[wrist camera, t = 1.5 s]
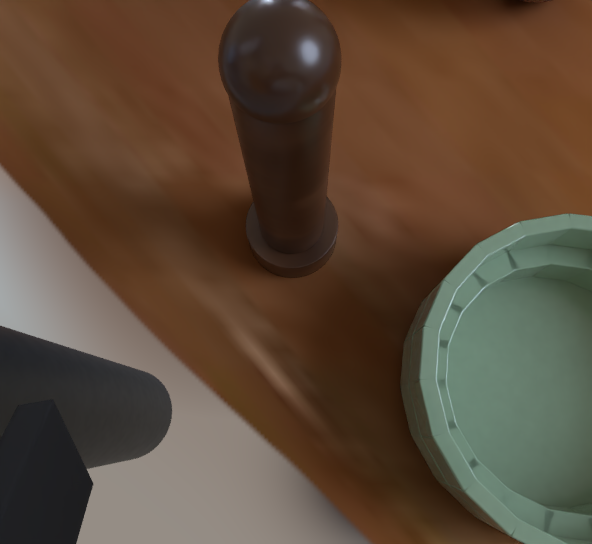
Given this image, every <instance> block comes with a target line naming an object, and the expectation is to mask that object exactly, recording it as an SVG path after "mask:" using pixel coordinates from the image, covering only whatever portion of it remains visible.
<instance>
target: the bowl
mask: <svg viewBox="0 0 592 544" xmlns="http://www.w3.org/2000/svg"><path fill="white" fill-rule="evenodd" d="M400 387H401V388H400V389H401V393H402V398H403V402H404V407H405V411H406V416H407V420H408V425H409V429H410V433H411V435H412V438H413V439H414V441H415V443H416V445H417V447H418V448H419V450H420V452H421V454H422V455H423V457H424V459H425V461H426V463H427V464H428V466H429V468H430V470H431V471H432V473H433V475H434V477H435V478H436V479H437V481H438V482H439V483H440V484H441V485H442V486H443V487H444V488H445V489H446V490H447V491H448V492H449V493H450V494H451V495H452V496H453V497H455V498H456V499H457V500H458V501H459V502H460V503H461V504H462V505H463V506H464V507H465V508H466V509H467V510H468V511H469V512H470V513H471V514H472V515H473V516H475V517H476V518H478V519H480V520H481V521H483V522H485V523H487V524H488V525H490V526H492V527H494V528H496V529H497V530H499V531H501V532H503V533H505V534H506V535H508V536H510V537H512V538H514V539H516V540H518V541H520V542H522V543H524V544H592V216H585V215H577V214H560V215H555V216H549V217H543V218H537V219H531V220H525V221H520V222H517V223H515V224H513V225H511V226H509V227H507V228H506V229H504V230H502V231H500V232H498V233H496V234H494V235H492V236H490V237H489V238H487V239H485V240H483V241H481V242H479V243H477V244H476V245H475V246H474V247H473V248H472V249H471V250H470V251H469V252H468V253H467V254H466V255H465V256H464V257H463V258H462V259H461V260H460V261H459V262H458V264H457V265H456V266H455V267H454V268H453V269H452V270H451V271H450V272H449V273H448V274H447V275H446V276H445V277H444V278H443V279H442V281H441V282H440V283H439V284H438V285H437V286H436V287H435V288H434V289H433V290H432V291H431V292H430V294H429V295H428V296H427V297H426V298H425V299H424V300H423V301H422V303H421V304H420V307H419V309H418V311H417V313H416V316H415V318H414V320H413V323H412V325H411V327H410V329H409V332H408V334H407V336H406V339H405V342H404V349H403V360H402V372H401V383H400Z"/></svg>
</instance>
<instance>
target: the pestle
mask: <svg viewBox="0 0 592 544" xmlns="http://www.w3.org/2000/svg"><path fill="white" fill-rule="evenodd" d="M218 64H219V72H220V76H221V80H222V82H223V85H224V88H225V90H226V92H227V93H228V96H229V100H230V104H231V108H232V113H233V117H234V121H235V125H236V129H237V134H238V138H239V142H240V146H241V150H242V155H243V159H244V163H245V167H246V172H247V176H248V180H249V184H250V188H251V193H252V197H253V201H254V202H253V203H252V205H251V207H250V209H249V211H248V214H247V218H246V233H247V237H248V241H249V244H250V247H251V250H252V252H253V255H254V256H255V258H256V259H257V261H258V262H259V263H260V264H261V265H262V266H263V267H264V268H265V269H266V270H268V271H270V272H271V273H274V274H276V275H279V276H282V277H289V278H295V277H302V276H306V275H309V274H311V273H313V272H315V271H317V270H318V269H320V268H321V267H322V266H323V265H324V264H325V263H326V262H327V261H328V260H329V258H330V257H331V255H332V253H333V251H334V248H335V244H336V238H337V231H338V218H337V214H336V211H335V208H334V206H333V204H332V203H331V201H330V200H329V199H328V197H327V185H328V173H329V162H330V151H331V140H332V129H333V117H334V106H335V95H336V86H337V83H338V80H339V77H340V71H341V48H340V43H339V39H338V36H337V34H336V31H335V29H334V27H333V25H332V23H331V22H330V21H329V19H328V18H327V16H326V15H325V14H324V13H323V12H322V11H321V10H320V9H319V8H318V7H317V6H316V5H314V4H313V3H312V2H310V1H308V0H250V1H249V2H247V3H245V4H244V5H243V6H242V7H240V8H239V9H238V10H237V11H236V13H235V14H234V15H233V16H232V17H231V19H230V20H229V22H228V24H227V25H226V27H225V29H224V32H223V34H222V37H221V41H220V45H219V54H218Z"/></svg>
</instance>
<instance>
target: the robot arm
mask: <svg viewBox="0 0 592 544" xmlns="http://www.w3.org/2000/svg"><path fill="white" fill-rule="evenodd" d="M92 486H93V482H92V480H91V478H90V476H89V474H88V471H87V469H86V467H85V465H84V463H83V461H82V459H81V457H80V455H79V453H78V451H77V449H76V446H75V444H74V442H73V440H72V438H71V436H70V434H69V432H68V430H67V428H66V426H65V423H64V421H63V419H62V417H61V415H60V413H59V411H58V409H57V407H56V405H55V403H54V401H53V399H52V400H46V401H40V402H35V403H29V404H23V405H18V406H17V408H16V410H15V412H14V414H13V416H12V418H11V420H10V422H9V424H8V426H7V427H6V429H5V431H4V433H3V435H2V437H1V439H0V544H76V542H77V539H78V535H79V532H80V528H81V525H82V521H83V518H84V514H85V511H86V507H87V503H88V500H89V496H90V493H91V490H92Z"/></svg>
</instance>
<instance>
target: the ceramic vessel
mask: <svg viewBox="0 0 592 544" xmlns="http://www.w3.org/2000/svg"><path fill="white" fill-rule="evenodd" d="M521 1H525V2H546V1H551V0H521Z"/></svg>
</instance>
